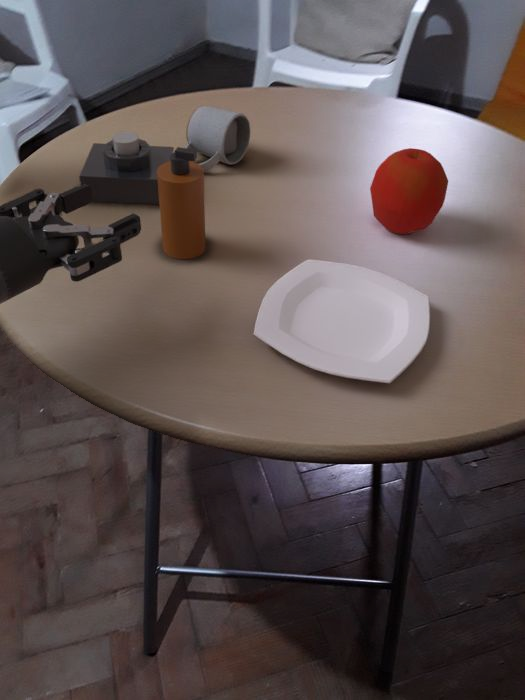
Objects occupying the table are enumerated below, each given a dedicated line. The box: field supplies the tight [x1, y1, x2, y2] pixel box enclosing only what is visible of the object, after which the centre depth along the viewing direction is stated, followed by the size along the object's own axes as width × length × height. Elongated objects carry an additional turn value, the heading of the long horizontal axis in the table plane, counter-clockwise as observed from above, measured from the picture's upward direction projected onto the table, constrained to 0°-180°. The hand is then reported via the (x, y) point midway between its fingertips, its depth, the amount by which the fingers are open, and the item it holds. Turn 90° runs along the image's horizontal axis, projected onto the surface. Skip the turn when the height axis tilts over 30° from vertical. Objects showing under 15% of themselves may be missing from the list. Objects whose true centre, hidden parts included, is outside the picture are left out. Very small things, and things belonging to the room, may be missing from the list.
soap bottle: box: [157, 146, 206, 260], centre depth 78 cm, size 6×6×14 cm
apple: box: [369, 147, 449, 235], centre depth 85 cm, size 10×10×12 cm
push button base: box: [78, 138, 175, 206], centre depth 92 cm, size 12×10×6 cm
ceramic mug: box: [185, 105, 252, 172], centre depth 98 cm, size 11×8×8 cm
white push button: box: [112, 130, 140, 155], centre depth 89 cm, size 4×4×2 cm
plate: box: [253, 258, 431, 384], centre depth 73 cm, size 19×19×2 cm
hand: (113, 206), depth 70 cm, fingers open, 8 cm apart
